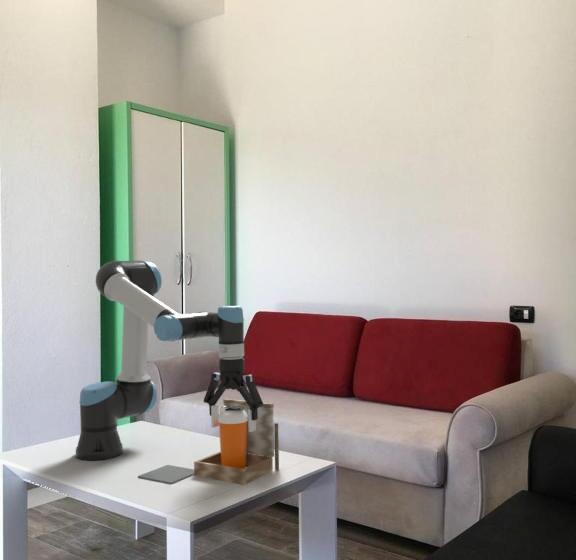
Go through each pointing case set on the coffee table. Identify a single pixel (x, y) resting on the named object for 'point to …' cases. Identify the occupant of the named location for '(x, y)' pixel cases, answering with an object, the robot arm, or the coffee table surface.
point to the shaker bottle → (233, 436)
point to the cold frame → (247, 450)
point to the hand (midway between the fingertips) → (233, 428)
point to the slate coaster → (168, 474)
